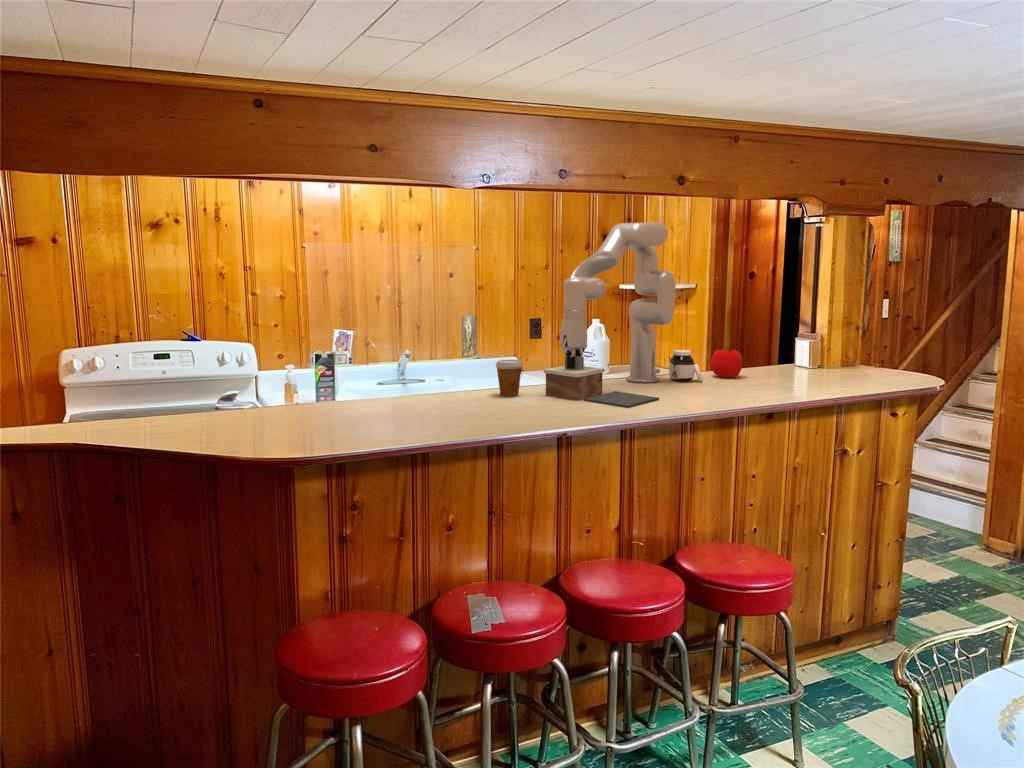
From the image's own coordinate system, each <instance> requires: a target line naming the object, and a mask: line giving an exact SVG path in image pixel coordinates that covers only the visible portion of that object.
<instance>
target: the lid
mask: <svg viewBox="0 0 1024 768" xmlns="http://www.w3.org/2000/svg"><path fill="white" fill-rule="evenodd" d="M574 357H575V369H570V368H567V357H566V355H564V365H563V366H557V367H551V368H546V369H545V368H544V369H543V373H544V374H546V373H549V374H556V375H563V376H571V377H582V376H587V375H593V374H598V373H602V374H603V373H605V368H602V367H601V368H600V367H592V366H586V365H584V364H585V363H584V362H585V361H584V360H585V356H574Z"/></svg>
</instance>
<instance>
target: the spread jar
mask: <svg viewBox="0 0 1024 768" xmlns="http://www.w3.org/2000/svg"><path fill="white" fill-rule="evenodd" d="M691 355H692V350H688V349H676V350H674V349H673V351H672V356H671V357H670V359H669V364H668V365H669V366H668V376H669V378H670V380H671V381H672V382H674V381H675V383H689V382H692V381H693V379H694V377H695V374H696V378H697V380H698V381H699V382H703V375H702V373H701V369H700V367H699V364H698V363H696V364H695V360H694V359H693V357H692V356H691Z"/></svg>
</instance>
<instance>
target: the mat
mask: <svg viewBox="0 0 1024 768" xmlns="http://www.w3.org/2000/svg"><path fill="white" fill-rule="evenodd" d="M659 400H660V397H657V396H653V395H652V396H649V395H644V394H637V393H628V392H623V391H616V390H615V391H611V392H606V393H602V394H601V395H597V396H592V397H588V398H584V399H583V402H587V403H593V404H594V403H596V404H601V405H608V406H613V407H621V408H626V409H629V408H634V407H637V406H641V405H645V404H648V403H652V402H656V401H659Z"/></svg>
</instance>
